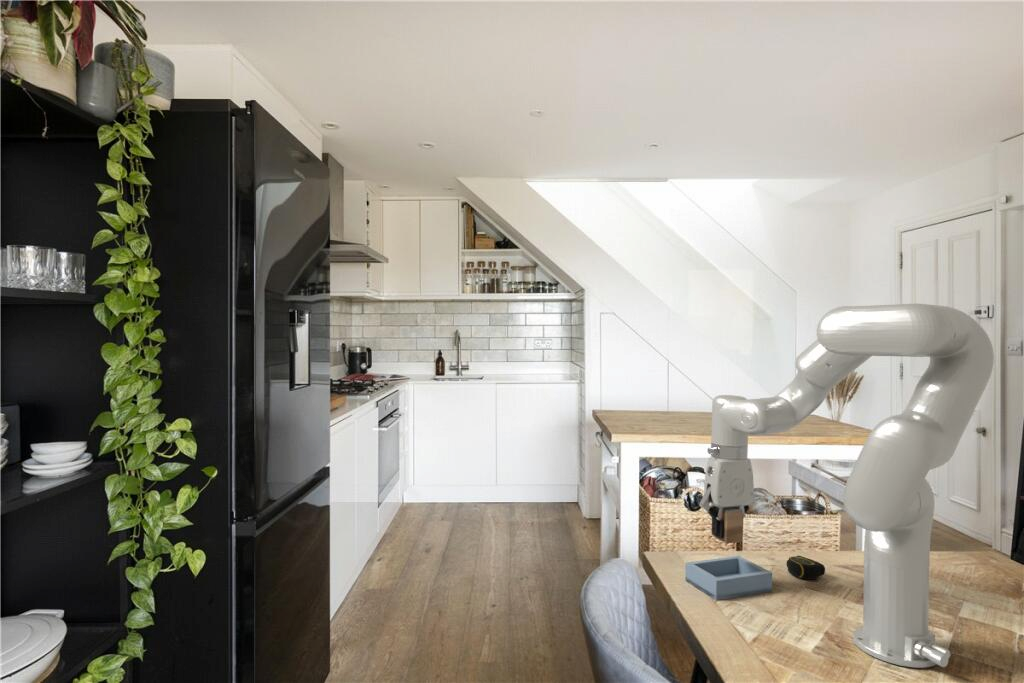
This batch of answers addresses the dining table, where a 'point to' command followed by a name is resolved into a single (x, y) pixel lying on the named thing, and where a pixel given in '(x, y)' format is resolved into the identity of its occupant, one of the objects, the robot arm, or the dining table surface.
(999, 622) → the dining table surface
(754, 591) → the container
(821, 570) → the tape measure
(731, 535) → the wooden rectangular block
